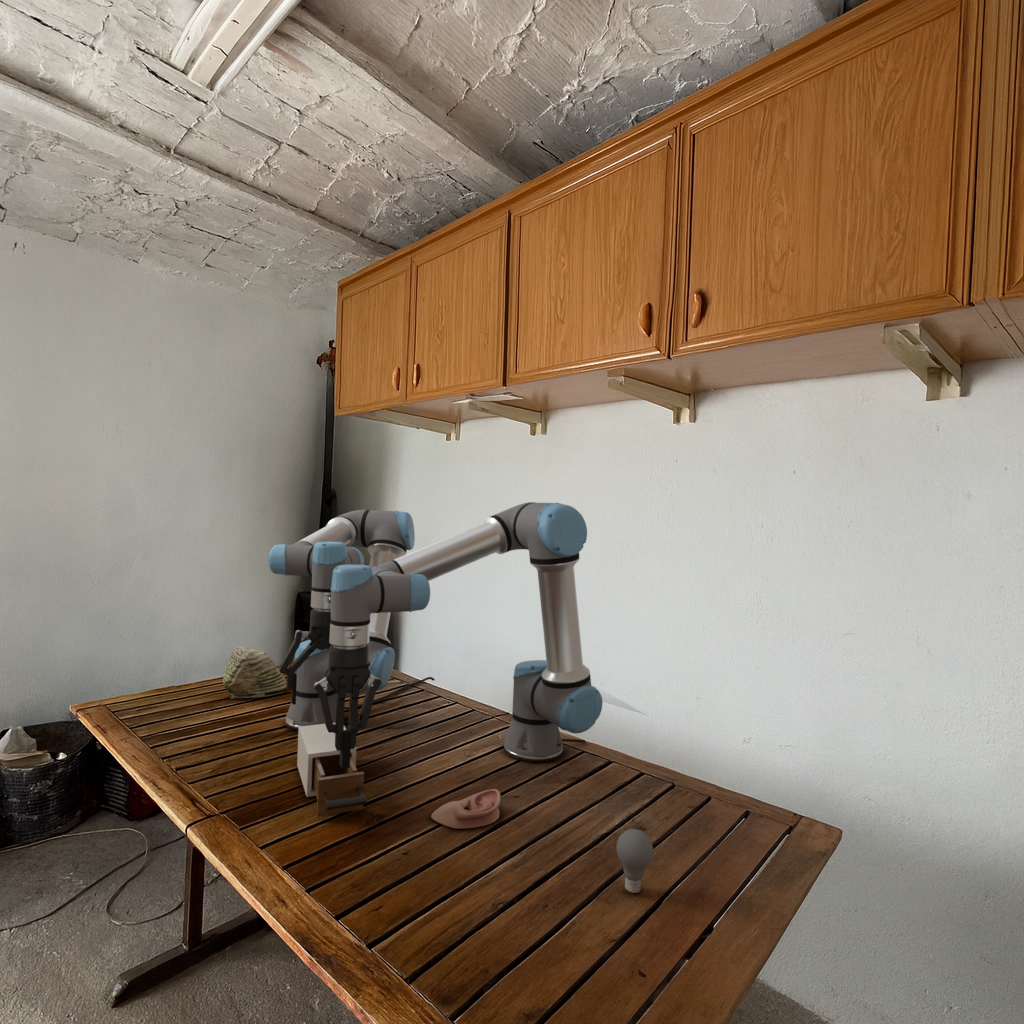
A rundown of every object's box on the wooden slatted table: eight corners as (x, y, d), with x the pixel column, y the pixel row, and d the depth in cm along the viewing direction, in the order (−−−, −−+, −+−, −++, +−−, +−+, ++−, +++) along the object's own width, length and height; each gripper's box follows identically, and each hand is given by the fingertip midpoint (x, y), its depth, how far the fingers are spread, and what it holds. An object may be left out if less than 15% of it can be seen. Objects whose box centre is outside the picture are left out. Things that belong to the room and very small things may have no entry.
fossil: (218, 695, 195) (220, 647, 195) (278, 685, 208) (279, 640, 207) (228, 703, 189) (230, 653, 188) (289, 692, 201) (290, 645, 201)
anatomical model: (426, 804, 124) (444, 779, 135) (425, 824, 124) (443, 798, 135) (492, 814, 121) (505, 787, 132) (491, 834, 121) (504, 806, 133)
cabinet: (354, 789, 138) (356, 748, 137) (306, 797, 133) (308, 754, 133) (340, 759, 153) (342, 721, 153) (297, 765, 149) (298, 726, 149)
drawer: (369, 823, 122) (371, 786, 122) (322, 832, 118) (323, 793, 118) (348, 776, 142) (349, 744, 141) (306, 782, 138) (308, 749, 138)
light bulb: (610, 879, 108) (613, 822, 108) (644, 879, 109) (647, 822, 109) (619, 902, 102) (622, 840, 102) (655, 901, 103) (658, 840, 103)
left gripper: (271, 613, 138) (268, 710, 138) (384, 609, 148) (381, 699, 149) (268, 607, 145) (265, 699, 145) (377, 604, 155) (374, 690, 156)
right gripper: (317, 651, 117) (312, 778, 117) (387, 647, 122) (382, 768, 123) (311, 642, 123) (307, 762, 124) (378, 638, 129) (373, 753, 129)
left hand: (324, 699), depth 147 cm, fingers open, 13 cm apart
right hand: (344, 765), depth 123 cm, fingers closed
